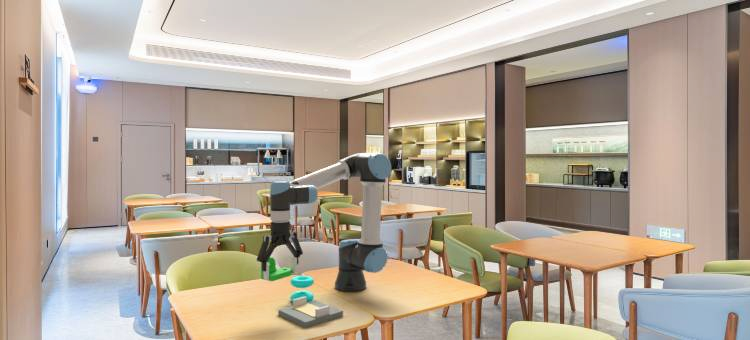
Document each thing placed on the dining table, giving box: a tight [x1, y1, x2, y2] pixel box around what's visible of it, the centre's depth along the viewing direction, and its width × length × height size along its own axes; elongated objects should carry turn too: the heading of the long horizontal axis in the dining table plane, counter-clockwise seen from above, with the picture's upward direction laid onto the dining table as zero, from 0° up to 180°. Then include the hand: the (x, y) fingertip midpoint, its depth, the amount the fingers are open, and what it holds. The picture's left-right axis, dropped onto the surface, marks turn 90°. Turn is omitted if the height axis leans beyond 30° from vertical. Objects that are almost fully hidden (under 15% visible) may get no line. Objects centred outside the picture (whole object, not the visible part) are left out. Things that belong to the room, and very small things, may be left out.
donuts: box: [290, 275, 315, 303], centre depth 192 cm, size 10×10×10 cm
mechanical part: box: [260, 256, 293, 282], centre depth 174 cm, size 12×6×8 cm, turn 145°
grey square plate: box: [277, 297, 344, 329], centre depth 174 cm, size 18×18×5 cm
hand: (280, 276), depth 173 cm, fingers closed on mechanical part, 12 cm apart
